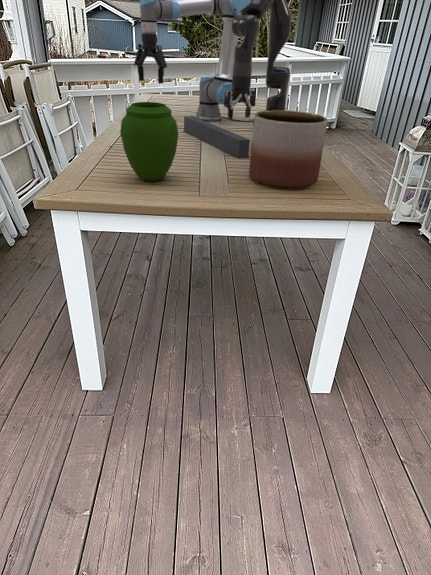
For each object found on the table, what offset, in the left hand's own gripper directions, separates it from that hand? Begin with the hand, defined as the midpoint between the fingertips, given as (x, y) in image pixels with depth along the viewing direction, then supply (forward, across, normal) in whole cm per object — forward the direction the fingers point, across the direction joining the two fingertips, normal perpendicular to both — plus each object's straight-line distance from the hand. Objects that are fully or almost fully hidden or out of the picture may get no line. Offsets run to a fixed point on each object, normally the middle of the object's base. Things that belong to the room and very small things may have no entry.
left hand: (151, 82), depth 208 cm
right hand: (+7, +64, -14) cm, 66 cm away
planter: (+22, +96, -31) cm, 104 cm away
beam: (+22, +43, -3) cm, 48 cm away
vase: (+22, +61, -64) cm, 91 cm away
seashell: (+22, +42, +43) cm, 64 cm away
